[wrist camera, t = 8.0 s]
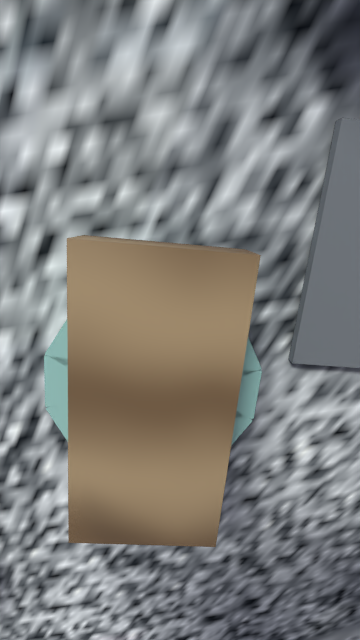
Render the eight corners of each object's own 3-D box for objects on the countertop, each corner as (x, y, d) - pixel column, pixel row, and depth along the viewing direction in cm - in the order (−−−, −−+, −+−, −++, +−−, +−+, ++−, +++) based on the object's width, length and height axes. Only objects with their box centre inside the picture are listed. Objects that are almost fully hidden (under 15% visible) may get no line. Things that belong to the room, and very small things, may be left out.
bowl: (225, 425, 20) (242, 481, 16) (72, 416, 19) (46, 472, 15) (248, 275, 18) (275, 293, 13) (73, 260, 17) (42, 273, 13)
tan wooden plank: (208, 504, 16) (215, 547, 14) (81, 499, 16) (68, 542, 14) (244, 249, 13) (260, 255, 11) (83, 235, 12) (67, 238, 10)
